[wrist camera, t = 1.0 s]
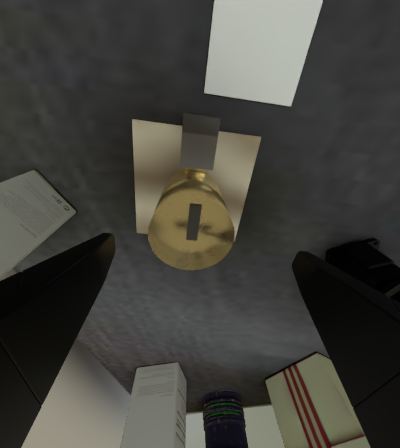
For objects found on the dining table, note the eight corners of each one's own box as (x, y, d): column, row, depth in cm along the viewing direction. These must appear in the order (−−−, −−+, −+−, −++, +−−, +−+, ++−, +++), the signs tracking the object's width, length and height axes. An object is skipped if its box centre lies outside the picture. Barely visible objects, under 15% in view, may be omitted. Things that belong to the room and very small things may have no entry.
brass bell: (212, 242, 21) (220, 296, 15) (161, 238, 21) (147, 292, 14) (230, 147, 16) (254, 165, 10) (164, 138, 16) (145, 151, 9)
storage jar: (248, 397, 49) (269, 500, 36) (218, 409, 52) (227, 507, 39) (225, 385, 45) (238, 495, 32) (194, 398, 48) (194, 503, 35)
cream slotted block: (231, 244, 25) (241, 273, 20) (138, 236, 24) (125, 265, 19) (261, 124, 18) (285, 127, 14) (134, 106, 17) (111, 102, 12)
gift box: (310, 396, 50) (361, 516, 35) (259, 380, 44) (293, 514, 29) (369, 368, 43) (463, 501, 28) (318, 345, 38) (400, 495, 23)
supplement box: (148, 385, 44) (130, 500, 31) (136, 366, 39) (108, 490, 26) (187, 381, 43) (185, 495, 30) (179, 361, 39) (172, 484, 26)
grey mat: (289, 106, 18) (290, 106, 17) (203, 93, 17) (204, 92, 17) (328, -23, 14) (330, -26, 13) (219, -47, 13) (220, -50, 13)
